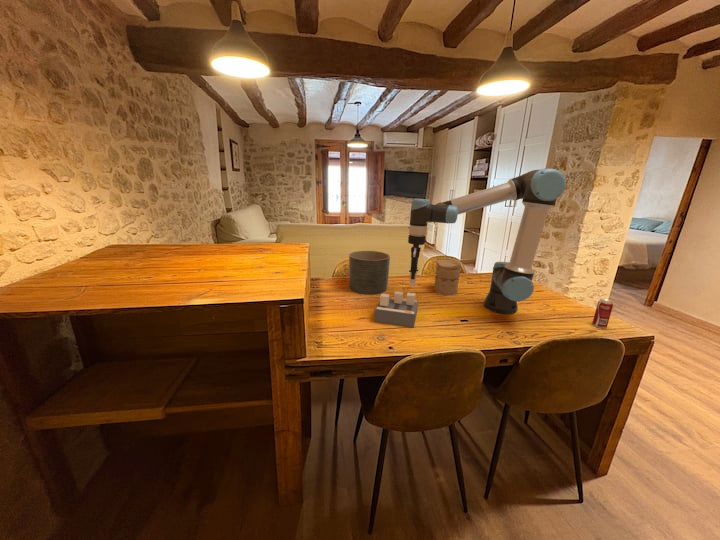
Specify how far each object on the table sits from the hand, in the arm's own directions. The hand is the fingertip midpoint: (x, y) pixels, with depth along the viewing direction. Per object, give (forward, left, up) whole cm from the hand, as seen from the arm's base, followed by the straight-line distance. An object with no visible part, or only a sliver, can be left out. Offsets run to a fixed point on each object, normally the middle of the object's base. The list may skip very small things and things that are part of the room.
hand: (412, 285), depth 138 cm
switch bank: (+5, +9, -13) cm, 17 cm away
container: (-16, -30, -13) cm, 37 cm away
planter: (+26, -21, -13) cm, 36 cm away
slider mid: (+5, +6, -7) cm, 11 cm away
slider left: (+11, +11, -7) cm, 17 cm away
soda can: (-82, -11, -13) cm, 84 cm away
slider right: (0, +6, -7) cm, 9 cm away
